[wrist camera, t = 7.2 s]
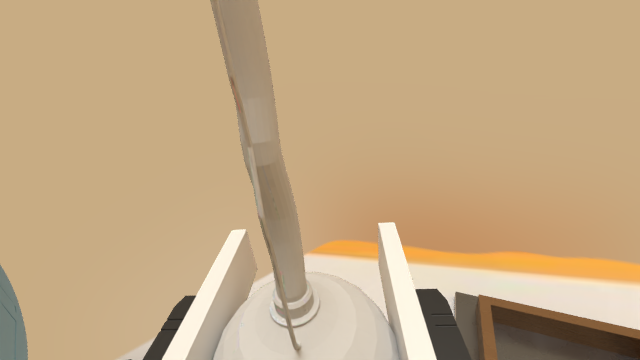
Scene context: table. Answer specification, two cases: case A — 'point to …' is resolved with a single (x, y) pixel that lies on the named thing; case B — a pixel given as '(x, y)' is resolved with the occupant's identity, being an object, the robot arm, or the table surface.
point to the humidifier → (285, 231)
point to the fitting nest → (538, 333)
